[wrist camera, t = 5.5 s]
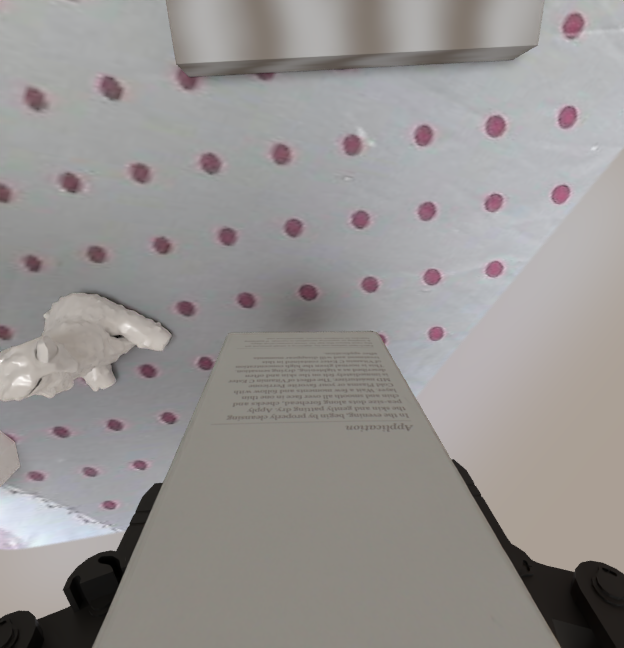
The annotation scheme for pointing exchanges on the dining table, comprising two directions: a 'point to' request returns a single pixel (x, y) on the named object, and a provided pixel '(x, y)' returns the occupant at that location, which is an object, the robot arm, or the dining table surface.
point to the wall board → (346, 33)
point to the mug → (7, 458)
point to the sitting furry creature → (76, 347)
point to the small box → (316, 517)
